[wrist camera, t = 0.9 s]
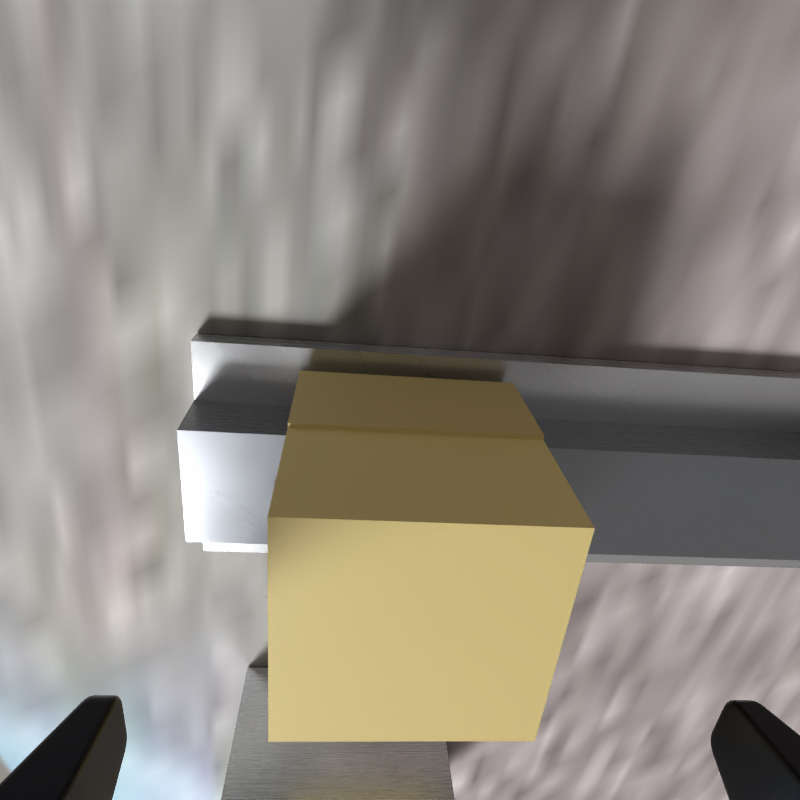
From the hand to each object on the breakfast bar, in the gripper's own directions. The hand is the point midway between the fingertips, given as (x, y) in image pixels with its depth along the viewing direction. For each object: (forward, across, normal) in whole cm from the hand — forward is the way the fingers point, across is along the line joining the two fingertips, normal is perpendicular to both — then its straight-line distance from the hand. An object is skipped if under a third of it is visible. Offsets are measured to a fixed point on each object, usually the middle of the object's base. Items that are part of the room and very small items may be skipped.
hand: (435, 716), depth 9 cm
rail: (+8, -6, 0) cm, 10 cm away
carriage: (+8, 0, 0) cm, 8 cm away
